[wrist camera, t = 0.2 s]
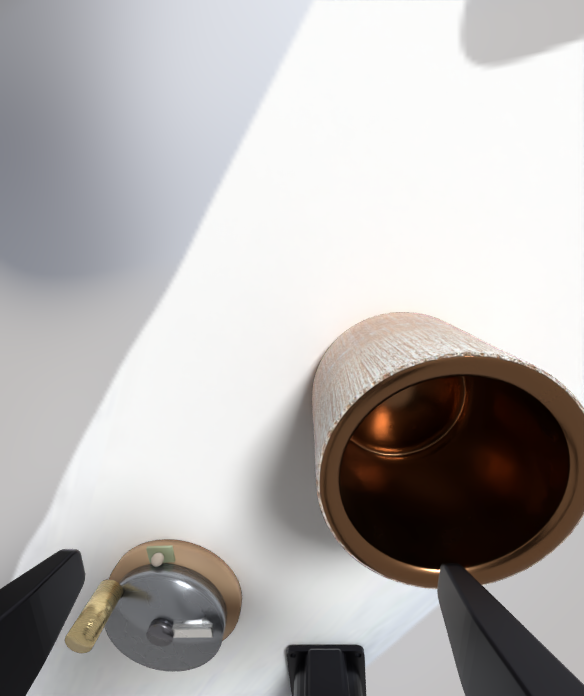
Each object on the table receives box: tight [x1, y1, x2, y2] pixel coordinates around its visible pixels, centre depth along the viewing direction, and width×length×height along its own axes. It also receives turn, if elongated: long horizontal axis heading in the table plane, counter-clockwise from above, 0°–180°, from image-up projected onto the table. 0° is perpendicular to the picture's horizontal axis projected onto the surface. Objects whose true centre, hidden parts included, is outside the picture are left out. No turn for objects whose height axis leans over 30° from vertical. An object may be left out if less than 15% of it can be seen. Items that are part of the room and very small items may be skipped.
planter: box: [312, 312, 584, 589], centre depth 17 cm, size 11×11×10 cm
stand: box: [109, 539, 242, 641], centre depth 26 cm, size 11×11×2 cm
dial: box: [65, 563, 227, 671], centre depth 24 cm, size 9×9×5 cm
